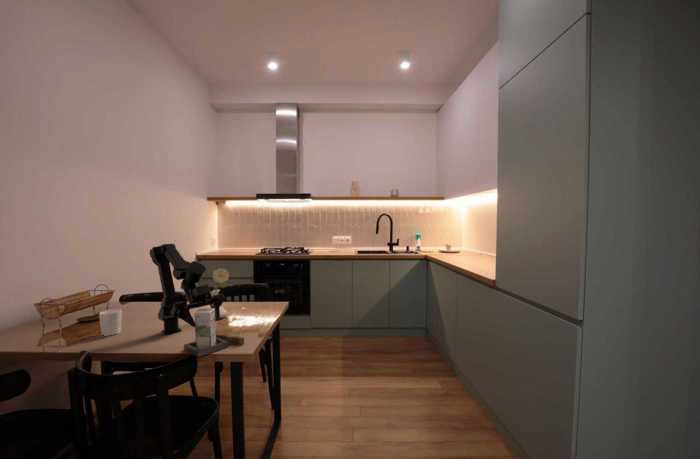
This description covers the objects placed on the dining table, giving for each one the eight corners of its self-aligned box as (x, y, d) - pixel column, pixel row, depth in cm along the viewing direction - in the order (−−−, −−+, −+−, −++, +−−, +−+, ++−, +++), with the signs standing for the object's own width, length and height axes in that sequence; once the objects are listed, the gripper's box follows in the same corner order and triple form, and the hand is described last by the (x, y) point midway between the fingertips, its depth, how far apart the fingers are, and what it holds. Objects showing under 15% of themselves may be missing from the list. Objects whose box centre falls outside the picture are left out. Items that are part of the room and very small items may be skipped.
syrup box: (216, 344, 119) (215, 307, 119) (211, 350, 113) (210, 311, 113) (201, 345, 118) (199, 308, 118) (195, 351, 112) (193, 312, 112)
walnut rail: (204, 338, 126) (204, 332, 126) (207, 337, 127) (207, 331, 127) (241, 345, 117) (240, 338, 117) (244, 343, 119) (243, 337, 119)
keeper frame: (184, 349, 115) (183, 344, 115) (213, 340, 123) (213, 335, 123) (198, 357, 107) (197, 351, 107) (228, 346, 116) (228, 341, 116)
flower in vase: (200, 322, 148) (198, 271, 147) (205, 315, 159) (203, 267, 158) (229, 319, 151) (227, 269, 151) (232, 313, 162) (230, 266, 162)
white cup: (126, 332, 137) (125, 309, 137) (106, 338, 130) (105, 314, 130) (116, 330, 141) (115, 308, 140) (96, 335, 133) (95, 313, 133)
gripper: (172, 281, 110) (187, 316, 104) (222, 273, 125) (237, 304, 118) (164, 300, 115) (178, 335, 109) (213, 290, 130) (227, 321, 123)
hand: (207, 323), depth 114 cm, fingers open, 9 cm apart
